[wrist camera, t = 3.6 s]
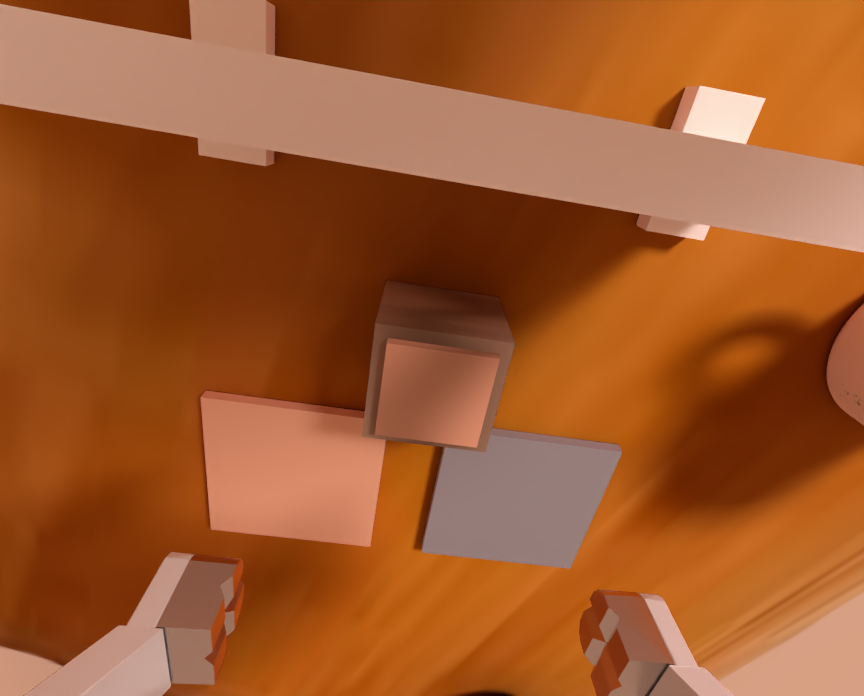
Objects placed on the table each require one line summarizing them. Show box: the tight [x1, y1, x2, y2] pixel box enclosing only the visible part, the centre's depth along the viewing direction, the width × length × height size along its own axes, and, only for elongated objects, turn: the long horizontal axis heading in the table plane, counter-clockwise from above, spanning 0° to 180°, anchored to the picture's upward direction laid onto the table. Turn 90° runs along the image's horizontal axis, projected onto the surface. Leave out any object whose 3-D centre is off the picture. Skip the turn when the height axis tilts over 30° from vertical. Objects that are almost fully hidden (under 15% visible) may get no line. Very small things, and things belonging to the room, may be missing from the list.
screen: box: [0, 0, 864, 252], centre depth 13 cm, size 20×5×10 cm, turn 81°
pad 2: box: [421, 428, 622, 568], centre depth 26 cm, size 9×9×1 cm
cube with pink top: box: [362, 280, 515, 452], centre depth 19 cm, size 5×5×5 cm
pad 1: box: [200, 391, 386, 547], centre depth 25 cm, size 9×9×1 cm
